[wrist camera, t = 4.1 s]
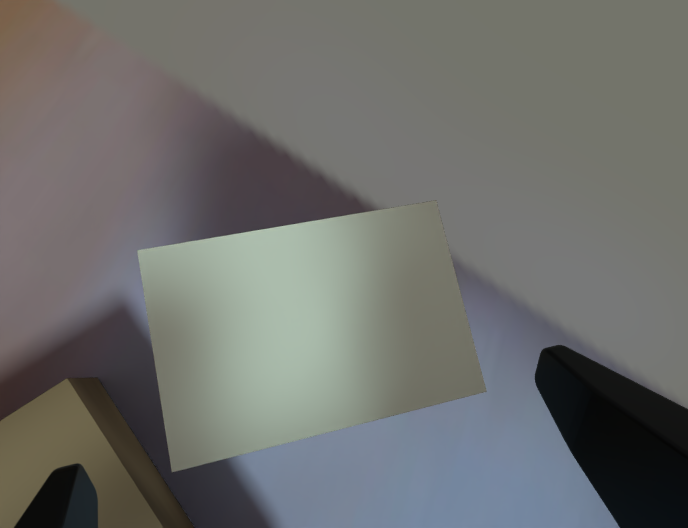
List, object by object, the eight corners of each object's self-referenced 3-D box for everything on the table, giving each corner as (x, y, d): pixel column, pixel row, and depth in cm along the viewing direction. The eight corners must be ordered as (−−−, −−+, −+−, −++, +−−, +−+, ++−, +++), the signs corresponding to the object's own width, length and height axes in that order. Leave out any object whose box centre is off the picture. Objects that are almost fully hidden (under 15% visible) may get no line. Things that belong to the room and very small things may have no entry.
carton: (374, 384, 20) (489, 393, 10) (214, 423, 18) (169, 476, 9) (351, 281, 20) (437, 197, 11) (195, 312, 19) (133, 248, 9)
